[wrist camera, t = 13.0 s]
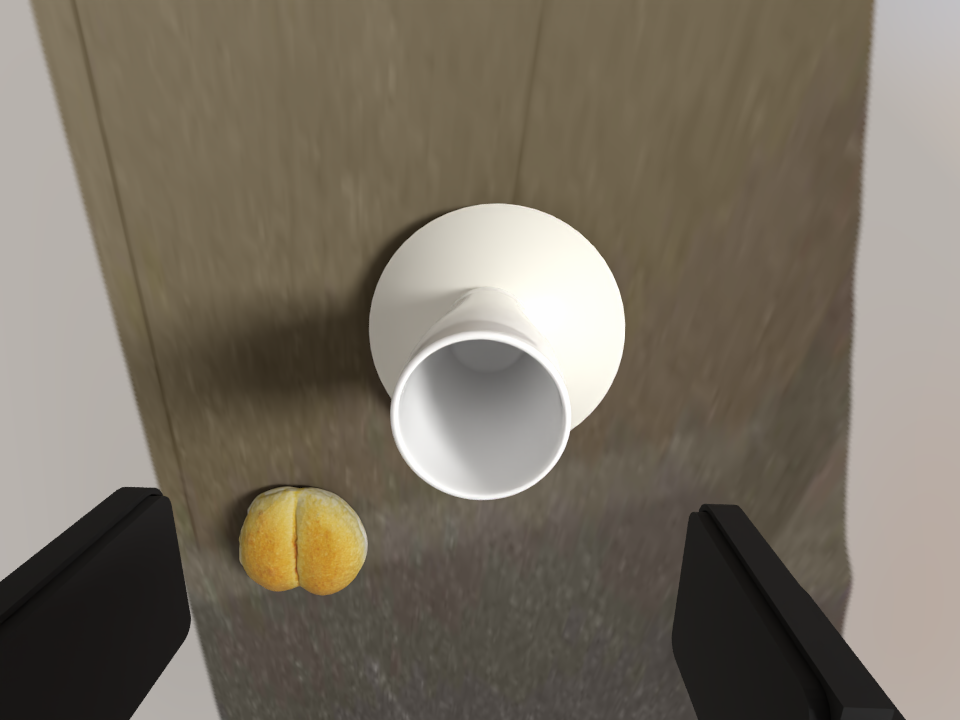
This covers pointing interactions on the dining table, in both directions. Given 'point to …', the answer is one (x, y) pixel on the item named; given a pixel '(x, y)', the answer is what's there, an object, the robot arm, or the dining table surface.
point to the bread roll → (302, 540)
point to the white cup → (482, 400)
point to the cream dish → (515, 268)
